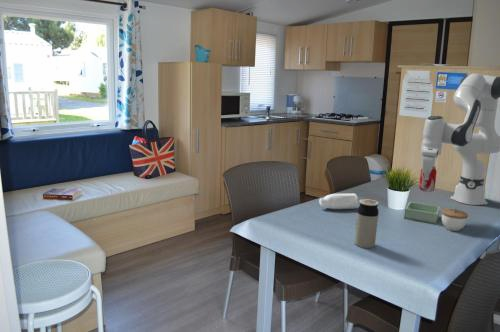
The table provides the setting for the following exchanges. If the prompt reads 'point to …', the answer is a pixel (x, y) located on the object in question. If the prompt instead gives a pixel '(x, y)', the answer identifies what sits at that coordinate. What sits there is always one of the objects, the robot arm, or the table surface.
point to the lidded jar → (454, 219)
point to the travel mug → (366, 223)
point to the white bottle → (339, 201)
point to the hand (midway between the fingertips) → (427, 178)
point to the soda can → (428, 181)
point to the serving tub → (422, 212)
